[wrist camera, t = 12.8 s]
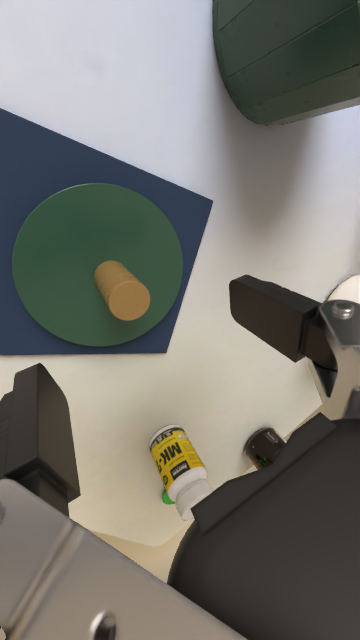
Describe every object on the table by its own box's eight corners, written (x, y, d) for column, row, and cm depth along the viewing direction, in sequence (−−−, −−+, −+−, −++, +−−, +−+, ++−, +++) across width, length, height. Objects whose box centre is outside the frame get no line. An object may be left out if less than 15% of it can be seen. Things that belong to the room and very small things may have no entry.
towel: (-17, 352, 16) (-18, 355, 16) (-18, 101, 11) (-20, 99, 11) (164, 350, 23) (166, 353, 23) (210, 200, 19) (213, 200, 18)
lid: (10, 337, 16) (-2, 394, 12) (18, 149, 12) (4, 128, 8) (157, 340, 22) (186, 378, 18) (194, 214, 18) (242, 223, 14)
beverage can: (249, 455, 45) (303, 524, 36) (237, 446, 41) (294, 522, 32) (274, 430, 45) (334, 492, 36) (265, 418, 41) (330, 486, 32)
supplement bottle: (166, 419, 28) (203, 488, 22) (188, 427, 31) (226, 490, 25) (140, 447, 28) (169, 524, 22) (164, 453, 31) (196, 523, 25)
